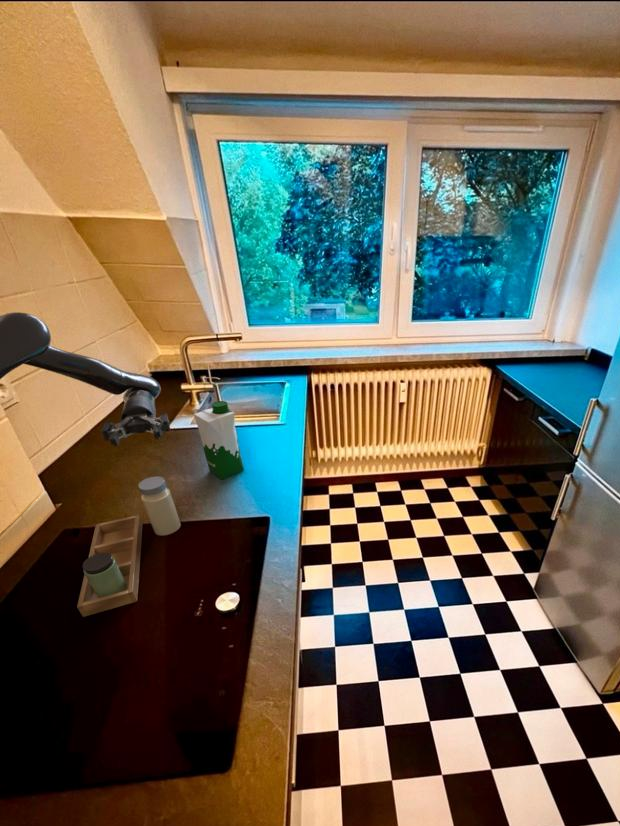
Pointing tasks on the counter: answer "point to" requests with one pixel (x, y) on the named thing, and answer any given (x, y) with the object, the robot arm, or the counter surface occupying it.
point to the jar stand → (125, 549)
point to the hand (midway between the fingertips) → (135, 439)
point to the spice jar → (104, 575)
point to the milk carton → (220, 440)
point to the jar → (159, 505)
